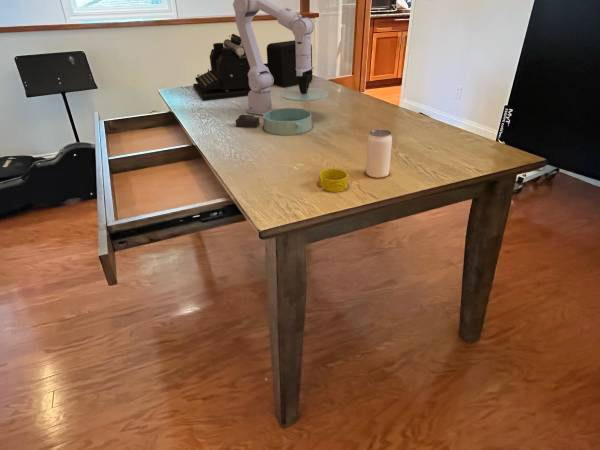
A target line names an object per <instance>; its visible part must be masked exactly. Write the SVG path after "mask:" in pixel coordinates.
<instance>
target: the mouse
mask: <svg viewBox="0 0 600 450" xmlns="http://www.w3.org/2000/svg"><path fill="white" fill-rule="evenodd" d="M259 125H260V117H258V116H257V117H255V116H254V114H240V115H239V116H238V118H237V119H235V127H236V128H251V129H255V128H257V127H258V126H259Z"/></svg>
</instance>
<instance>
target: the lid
mask: <svg viewBox="0 0 600 450" xmlns="http://www.w3.org/2000/svg"><path fill="white" fill-rule="evenodd" d="M329 95H330V92H329V91H327V90H326V89H322V88H316V87H309V88H308V91H306V93H300V89H299V87H297V88H289V89H286V90H283V91H280V93H279V97H280V98H281V99H285V100H287V101H293V102H314V101H318V100H322V99H325V98H327V97H328V96H329Z"/></svg>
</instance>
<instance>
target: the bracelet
mask: <svg viewBox="0 0 600 450" xmlns="http://www.w3.org/2000/svg"><path fill="white" fill-rule="evenodd" d="M348 183H349V174H348V173H347V172H346V171H345V170H342V169H339V168H326V169H323V170H320V172H319V173H318V187H323V190H324V191H326V192H332V193H337V192H338V193H339V192H342V191H345V190H347V189H348V187H349V185H348Z"/></svg>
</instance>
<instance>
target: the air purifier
mask: <svg viewBox="0 0 600 450" xmlns="http://www.w3.org/2000/svg"><path fill="white" fill-rule="evenodd" d="M266 60H267V62H266V63H267V64H266V65H267V67H268V69H269V72H270V73H271V75H272V76H273V79H274V83H273V85H275V86H280V87H283V88H290V87H294V86H299V85H298V82H297V79H296V78H295V74H296V45H295V39H294V40H287V41H279V42H271V43H268V44H267V46H266ZM311 67H313V45H312V44H311ZM308 71H313V70H308ZM312 81H313V74H312V75H311V78H310V82H309V83H311V82H312Z"/></svg>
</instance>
